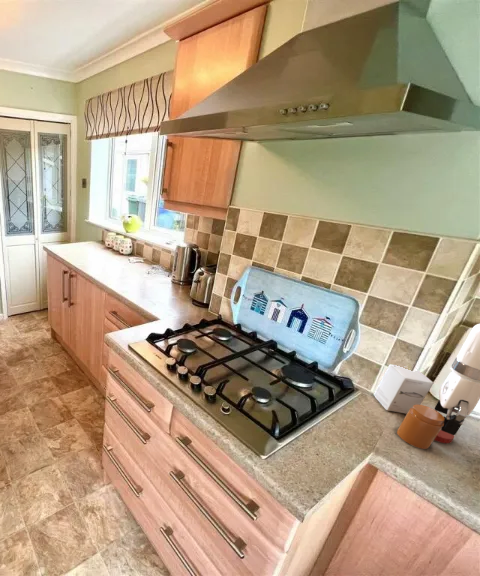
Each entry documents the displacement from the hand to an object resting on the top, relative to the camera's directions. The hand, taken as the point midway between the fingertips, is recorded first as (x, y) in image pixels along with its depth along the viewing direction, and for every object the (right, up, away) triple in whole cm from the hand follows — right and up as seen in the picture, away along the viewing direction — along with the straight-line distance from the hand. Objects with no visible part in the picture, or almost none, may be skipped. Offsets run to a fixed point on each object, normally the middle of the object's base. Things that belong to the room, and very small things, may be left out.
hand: (443, 421), depth 84 cm
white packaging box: (-3, 0, +12) cm, 12 cm away
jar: (-9, -5, 0) cm, 10 cm away
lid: (-1, -3, +2) cm, 3 cm away
